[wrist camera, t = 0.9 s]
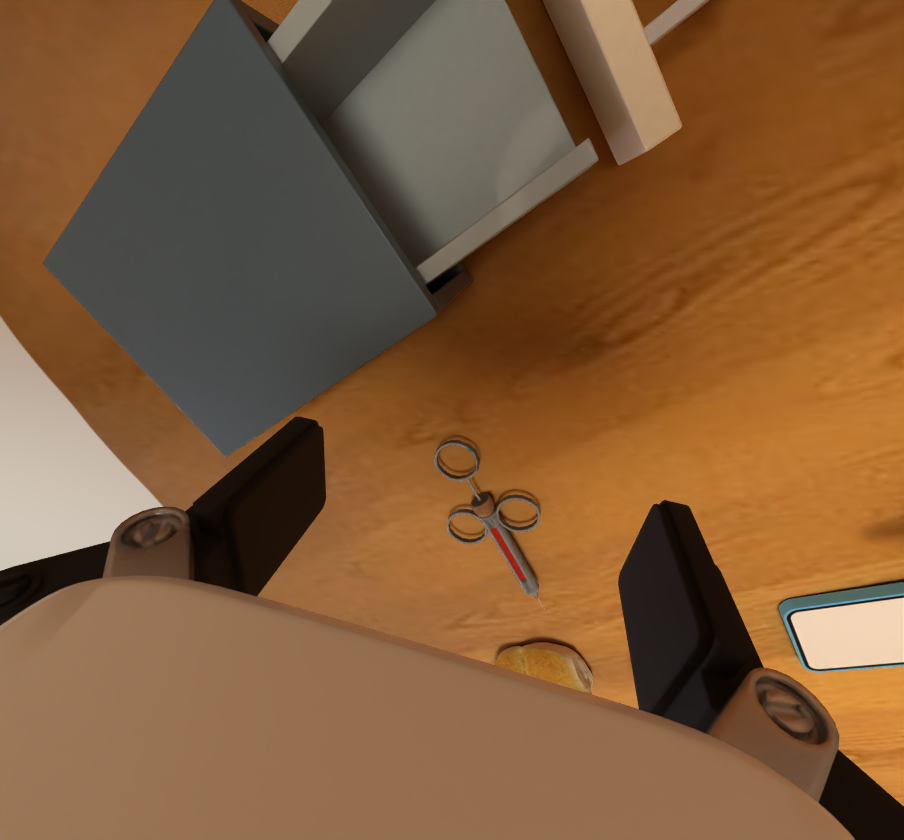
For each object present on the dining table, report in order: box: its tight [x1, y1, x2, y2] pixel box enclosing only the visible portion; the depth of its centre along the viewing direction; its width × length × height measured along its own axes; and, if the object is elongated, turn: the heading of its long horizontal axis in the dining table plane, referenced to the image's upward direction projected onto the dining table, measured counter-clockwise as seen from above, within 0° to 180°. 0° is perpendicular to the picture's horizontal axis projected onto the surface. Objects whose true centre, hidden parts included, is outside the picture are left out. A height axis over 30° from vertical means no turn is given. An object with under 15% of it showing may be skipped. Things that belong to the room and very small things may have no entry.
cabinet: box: [43, 0, 473, 457], centre depth 22 cm, size 16×13×9 cm
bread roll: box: [495, 642, 593, 694], centre depth 38 cm, size 8×9×4 cm
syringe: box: [434, 440, 545, 610], centre depth 32 cm, size 8×18×2 cm, turn 29°
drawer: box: [267, 0, 710, 286], centre depth 17 cm, size 19×11×7 cm, turn 125°
